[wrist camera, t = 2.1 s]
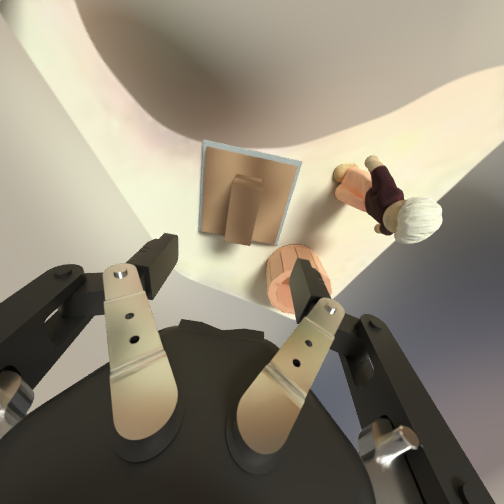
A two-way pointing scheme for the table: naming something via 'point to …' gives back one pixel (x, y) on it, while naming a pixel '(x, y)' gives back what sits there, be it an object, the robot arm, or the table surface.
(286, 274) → the bowl
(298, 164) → the mat
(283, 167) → the lid
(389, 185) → the grandmother figurine
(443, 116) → the table surface
